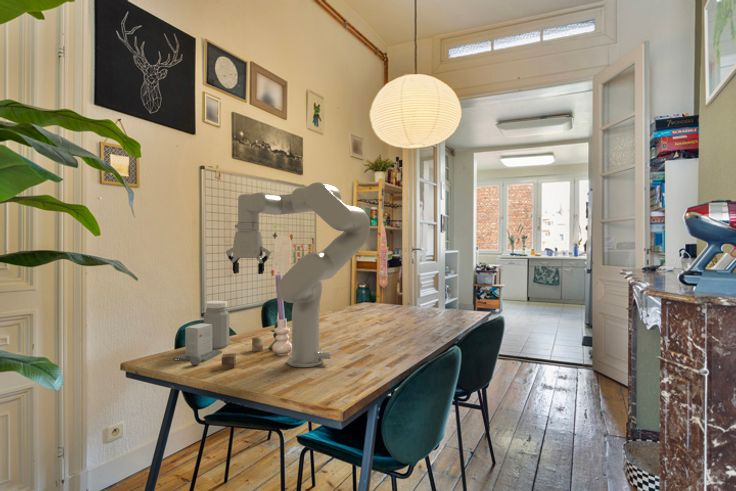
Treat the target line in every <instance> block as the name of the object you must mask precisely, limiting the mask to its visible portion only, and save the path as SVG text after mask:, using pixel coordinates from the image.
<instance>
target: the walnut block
mask: <svg viewBox="0 0 736 491" xmlns="http://www.w3.org/2000/svg"><path fill="white" fill-rule="evenodd" d="M236 355H237V354H236V353H223V355H222V356H221V370H229V369H232V368H234V369H235V367H236V365H237V364H236V363H237V362H236V361H237V360H236V357H237V356H236Z"/></svg>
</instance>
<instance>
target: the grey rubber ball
mask: <svg viewBox="0 0 736 491" xmlns="http://www.w3.org/2000/svg"><path fill="white" fill-rule="evenodd" d="M189 362H190V364H191V365H193V366H198V365H200V364H201V356H200V355H197V354H195V355H193V356H192V357H191V358H190V361H189Z"/></svg>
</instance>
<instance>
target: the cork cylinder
mask: <svg viewBox="0 0 736 491" xmlns="http://www.w3.org/2000/svg"><path fill="white" fill-rule="evenodd" d="M263 342H264V338H263V336H253V337H252V338H251V352H253V353H260V352H263V351H264V348H263V346H264V344H263Z"/></svg>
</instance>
